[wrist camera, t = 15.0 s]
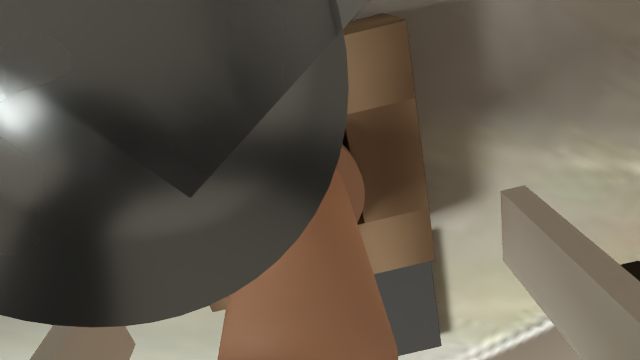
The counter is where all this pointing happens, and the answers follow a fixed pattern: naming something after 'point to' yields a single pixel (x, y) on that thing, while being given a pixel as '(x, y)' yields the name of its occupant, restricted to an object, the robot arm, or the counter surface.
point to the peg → (315, 291)
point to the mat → (410, 307)
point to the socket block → (385, 145)
